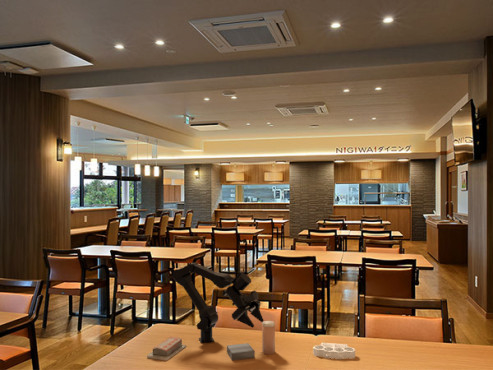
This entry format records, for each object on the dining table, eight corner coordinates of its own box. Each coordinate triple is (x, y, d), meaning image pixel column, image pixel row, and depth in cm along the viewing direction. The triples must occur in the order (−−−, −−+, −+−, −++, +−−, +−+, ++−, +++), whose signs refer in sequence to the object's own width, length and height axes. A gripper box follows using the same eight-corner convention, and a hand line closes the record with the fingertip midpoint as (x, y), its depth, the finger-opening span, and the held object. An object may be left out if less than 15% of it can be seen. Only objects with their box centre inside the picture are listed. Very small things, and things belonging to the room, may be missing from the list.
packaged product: (167, 335, 205) (186, 337, 202) (167, 345, 205) (186, 347, 202) (146, 347, 188) (167, 350, 185) (146, 359, 188) (167, 361, 184)
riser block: (226, 352, 194) (226, 345, 194) (248, 349, 197) (248, 343, 197) (232, 360, 184) (231, 353, 184) (254, 357, 187) (254, 350, 187)
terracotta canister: (260, 350, 196) (260, 321, 196) (272, 349, 197) (272, 320, 198) (264, 354, 190) (264, 324, 191) (276, 353, 192) (276, 323, 192)
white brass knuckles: (354, 350, 196) (355, 362, 182) (314, 347, 200) (312, 359, 186) (354, 342, 196) (355, 354, 182) (314, 340, 200) (312, 351, 186)
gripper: (237, 289, 192) (260, 318, 186) (256, 282, 208) (278, 308, 202) (222, 305, 195) (244, 334, 189) (242, 297, 211) (263, 323, 206)
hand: (258, 324), depth 197 cm, fingers open, 9 cm apart
